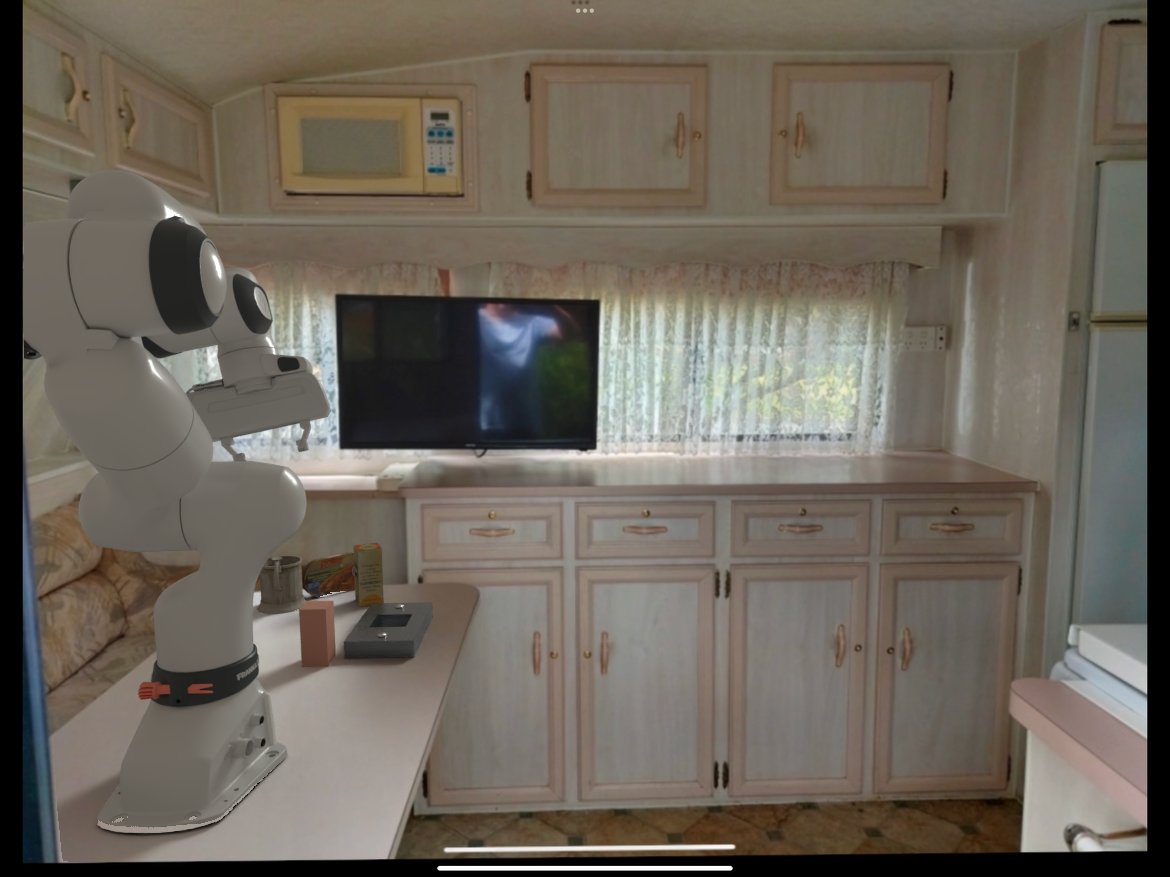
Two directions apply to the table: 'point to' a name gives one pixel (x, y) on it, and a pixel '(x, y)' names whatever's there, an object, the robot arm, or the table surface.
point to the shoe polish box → (368, 574)
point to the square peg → (317, 633)
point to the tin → (329, 575)
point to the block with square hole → (389, 630)
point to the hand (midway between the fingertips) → (272, 458)
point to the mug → (281, 585)
